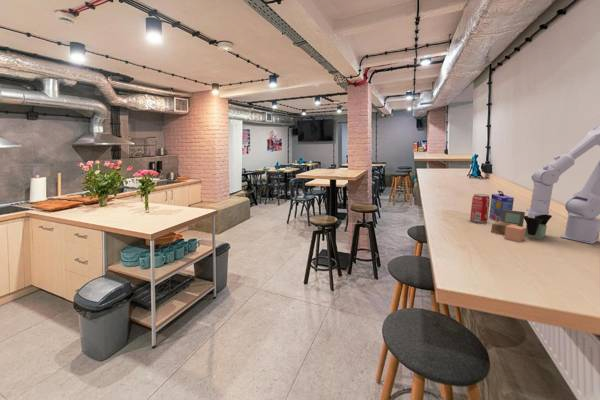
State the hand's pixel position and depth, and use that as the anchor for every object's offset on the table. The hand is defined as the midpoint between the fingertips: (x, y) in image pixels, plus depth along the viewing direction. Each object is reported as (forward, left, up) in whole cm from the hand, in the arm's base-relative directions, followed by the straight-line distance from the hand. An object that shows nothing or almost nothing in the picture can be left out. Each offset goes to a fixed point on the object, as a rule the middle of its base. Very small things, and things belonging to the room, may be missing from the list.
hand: (535, 233), depth 117 cm
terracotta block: (+3, +11, -2) cm, 12 cm away
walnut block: (+9, +5, -2) cm, 10 cm away
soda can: (+24, -5, -2) cm, 25 cm away
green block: (0, 0, -2) cm, 2 cm away
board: (+11, -7, -1) cm, 13 cm away
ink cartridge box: (+20, -17, -2) cm, 26 cm away
